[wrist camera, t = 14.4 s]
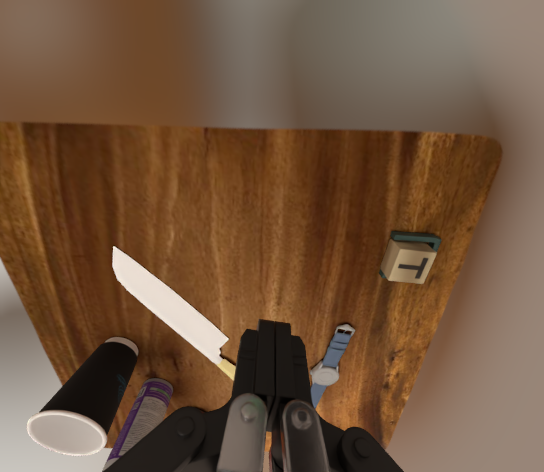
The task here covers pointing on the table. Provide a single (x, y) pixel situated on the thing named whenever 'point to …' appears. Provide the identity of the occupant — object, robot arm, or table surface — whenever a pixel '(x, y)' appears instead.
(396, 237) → the frame
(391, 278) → the letter tile
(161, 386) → the container
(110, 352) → the dixie cup
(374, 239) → the table surface
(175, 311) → the knife
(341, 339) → the wristwatch
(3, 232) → the table surface
